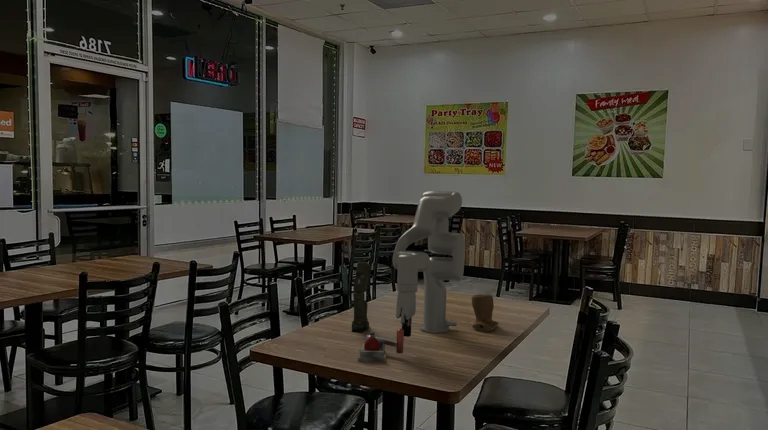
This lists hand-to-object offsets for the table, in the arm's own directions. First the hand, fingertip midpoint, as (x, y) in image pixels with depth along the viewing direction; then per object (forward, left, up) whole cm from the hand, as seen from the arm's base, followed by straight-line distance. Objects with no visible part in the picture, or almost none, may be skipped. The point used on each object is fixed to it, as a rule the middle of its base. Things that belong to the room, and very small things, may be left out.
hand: (406, 335), depth 213 cm
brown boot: (-36, -37, -7) cm, 52 cm away
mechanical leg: (+18, -33, -7) cm, 38 cm away
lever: (+8, +1, -5) cm, 9 cm away
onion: (+13, +6, -7) cm, 15 cm away
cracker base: (+13, +3, -6) cm, 14 cm away
